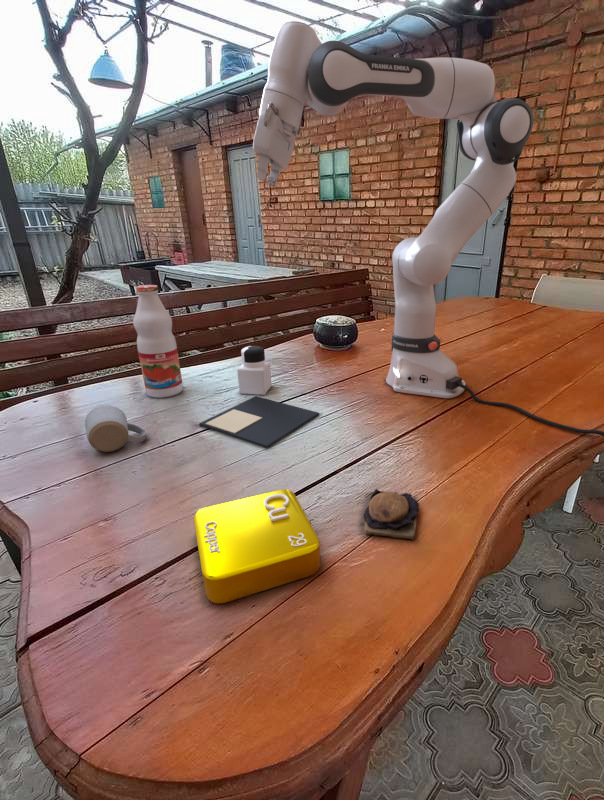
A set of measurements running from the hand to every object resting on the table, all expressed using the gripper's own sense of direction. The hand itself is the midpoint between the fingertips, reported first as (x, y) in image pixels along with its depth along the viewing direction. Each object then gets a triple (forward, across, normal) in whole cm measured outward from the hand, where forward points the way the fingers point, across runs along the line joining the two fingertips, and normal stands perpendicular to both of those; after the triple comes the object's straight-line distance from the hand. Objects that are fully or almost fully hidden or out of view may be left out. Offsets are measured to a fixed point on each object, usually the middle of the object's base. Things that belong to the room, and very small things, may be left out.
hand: (266, 183), depth 97 cm
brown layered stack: (+44, -50, -43) cm, 79 cm away
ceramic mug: (+58, -30, +11) cm, 66 cm away
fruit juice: (+58, -1, +15) cm, 60 cm away
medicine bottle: (+51, +2, -8) cm, 51 cm away
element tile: (+50, -59, -24) cm, 81 cm away
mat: (+50, -17, -14) cm, 54 cm away
